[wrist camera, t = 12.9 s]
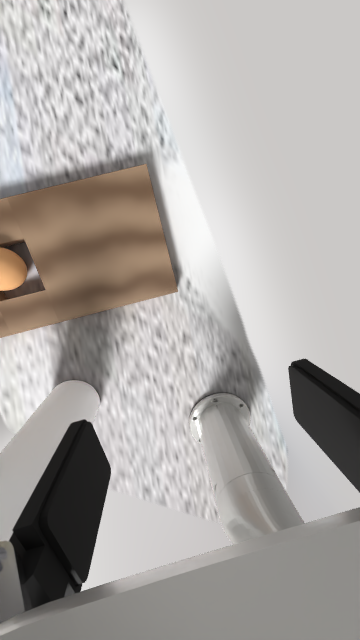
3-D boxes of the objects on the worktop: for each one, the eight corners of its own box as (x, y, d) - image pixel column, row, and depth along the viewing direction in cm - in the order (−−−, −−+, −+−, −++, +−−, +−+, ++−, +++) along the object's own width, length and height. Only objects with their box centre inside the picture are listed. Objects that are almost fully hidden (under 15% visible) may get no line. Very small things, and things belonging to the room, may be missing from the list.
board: (176, 289, 37) (178, 291, 34) (2, 335, 36) (-10, 340, 33) (147, 171, 32) (146, 163, 29) (-56, 220, 31) (-74, 216, 28)
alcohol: (80, 369, 38) (-152, 686, 10) (110, 403, 41) (-4, 742, 12) (41, 394, 39) (-295, 769, 10) (73, 426, 41) (-125, 806, 12)
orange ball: (38, 279, 35) (34, 275, 30) (-1, 298, 33) (-13, 298, 28) (12, 245, 33) (3, 234, 28) (-31, 263, 31) (-50, 255, 26)
